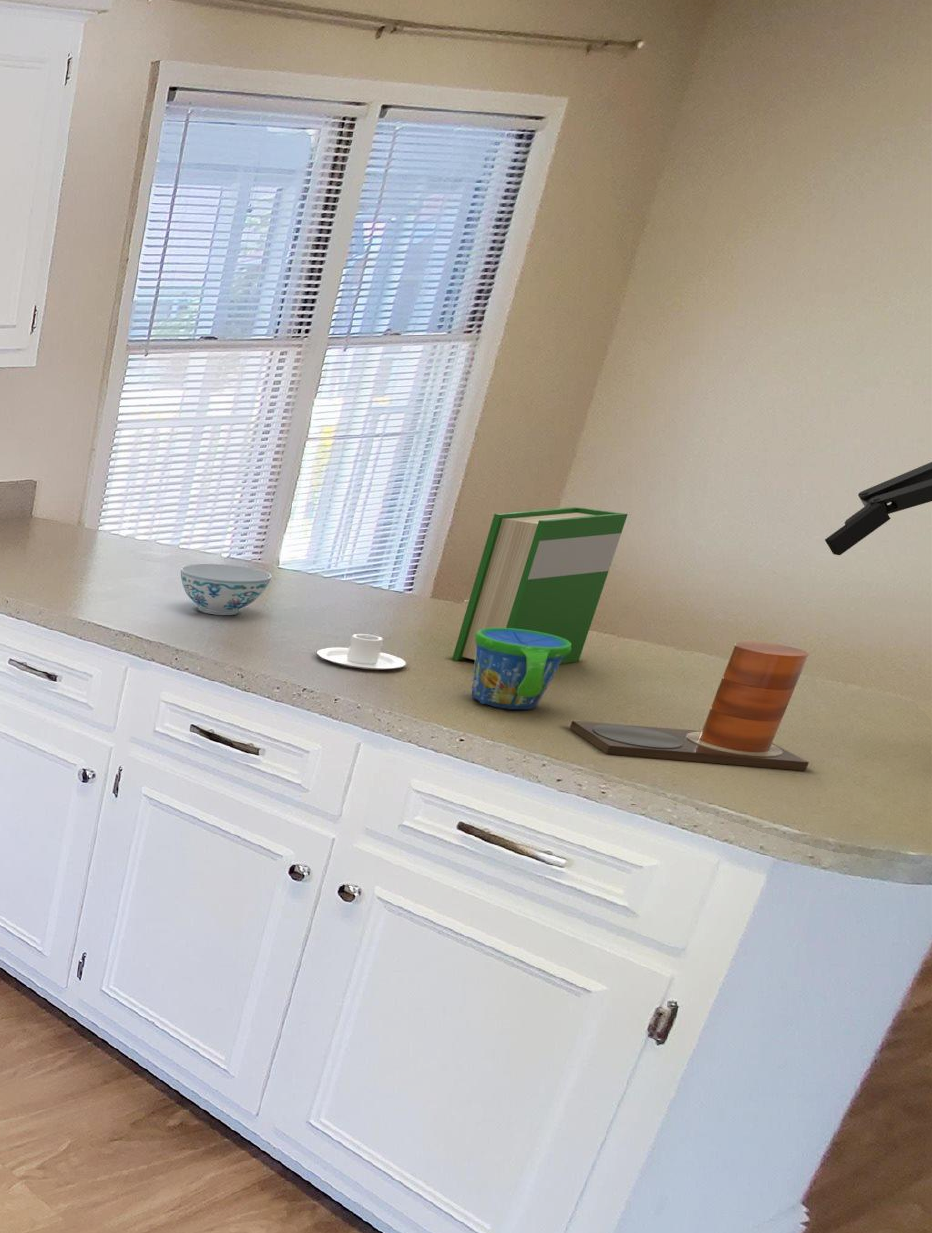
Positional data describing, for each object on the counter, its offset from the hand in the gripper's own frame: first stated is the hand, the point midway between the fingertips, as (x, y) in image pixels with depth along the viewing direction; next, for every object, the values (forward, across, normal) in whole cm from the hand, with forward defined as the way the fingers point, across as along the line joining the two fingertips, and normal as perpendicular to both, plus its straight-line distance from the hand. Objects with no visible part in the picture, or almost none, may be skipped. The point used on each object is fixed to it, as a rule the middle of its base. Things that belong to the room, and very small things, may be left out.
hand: (893, 558), depth 136 cm
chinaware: (+41, +76, +5) cm, 87 cm away
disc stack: (+24, 0, -10) cm, 26 cm away
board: (+29, +2, -7) cm, 30 cm away
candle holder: (+39, +42, +3) cm, 57 cm away
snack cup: (+34, +21, -2) cm, 40 cm away
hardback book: (+21, +41, -15) cm, 49 cm away
